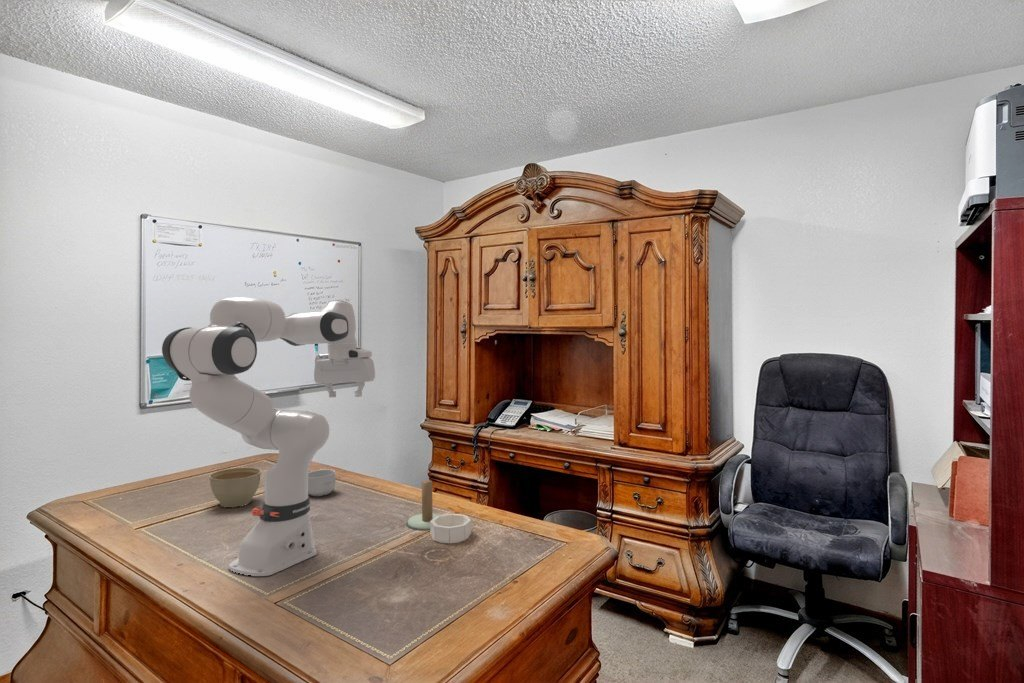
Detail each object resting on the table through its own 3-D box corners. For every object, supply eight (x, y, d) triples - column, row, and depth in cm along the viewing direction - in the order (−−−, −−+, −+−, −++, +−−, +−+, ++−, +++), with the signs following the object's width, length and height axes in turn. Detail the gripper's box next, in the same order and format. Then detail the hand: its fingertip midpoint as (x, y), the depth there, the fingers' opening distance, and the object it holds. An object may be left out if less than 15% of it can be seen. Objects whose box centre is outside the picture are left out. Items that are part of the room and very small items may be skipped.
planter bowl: (240, 513, 180) (240, 480, 180) (198, 510, 183) (198, 478, 183) (271, 497, 196) (270, 468, 195) (232, 495, 199) (231, 466, 199)
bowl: (459, 547, 151) (459, 529, 151) (424, 542, 155) (424, 524, 155) (475, 532, 161) (475, 516, 161) (442, 528, 165) (442, 512, 165)
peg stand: (435, 531, 161) (435, 489, 160) (400, 527, 165) (399, 485, 164) (453, 518, 172) (452, 478, 172) (419, 513, 176) (419, 474, 176)
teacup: (329, 498, 194) (329, 476, 194) (299, 498, 195) (299, 476, 194) (342, 487, 208) (342, 466, 208) (314, 487, 209) (314, 466, 208)
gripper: (308, 355, 170) (311, 398, 170) (365, 352, 164) (368, 397, 165) (320, 354, 176) (323, 396, 177) (376, 351, 170) (378, 394, 171)
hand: (345, 396), depth 170 cm, fingers open, 8 cm apart
